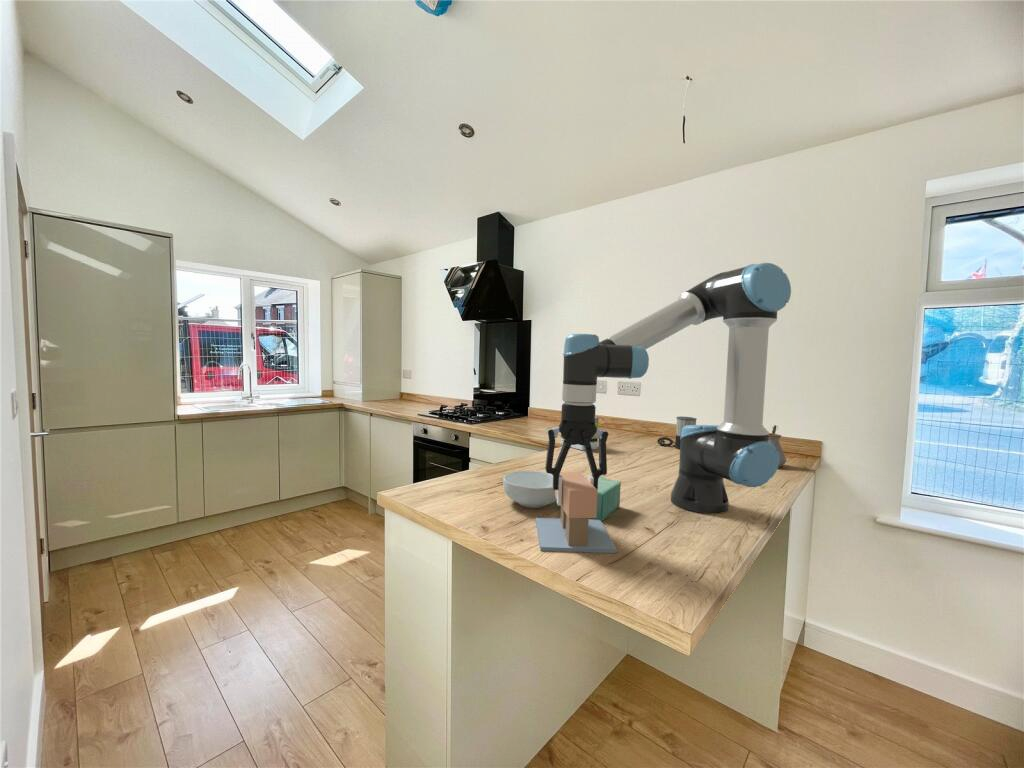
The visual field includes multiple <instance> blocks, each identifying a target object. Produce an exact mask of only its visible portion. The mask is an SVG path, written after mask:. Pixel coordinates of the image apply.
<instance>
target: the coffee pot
mask: <svg viewBox="0 0 1024 768" xmlns="http://www.w3.org/2000/svg"><path fill="white" fill-rule="evenodd" d="M777 428H779V426H778V425H776V424H775V425H773V426H772V431H771V432H769V443H771V444H772V445H773V446H774V447H775V448H776V450H777V451H778V453H779V465H778V468H781V467H782V466H784V465H785V464H786V462H787V459H786V455H785V453H784V451H783V449H782V446H781V443H780V438H781V437H782V435H781V434H778V433H776V432H777ZM778 468H777V469H778Z"/></svg>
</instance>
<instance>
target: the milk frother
mask: <svg viewBox="0 0 1024 768" xmlns="http://www.w3.org/2000/svg"><path fill="white" fill-rule="evenodd" d="M675 418H676V425H675V426H676V427H675V428H676V430H675V440H673V439H671V438H670V437H666V436H662V437H661V436H660V437H659V438H657V444H659V446H664V447H671V446H672V445H673V444H674V448H675V449H678V450H680V441H681V440H680V437H681V433H682V428H683V427H684V426H686V425H697V418H696V417H692V416H691V417H690V416H676V417H675ZM665 440H666V441H668V442H669V443H665V442H666V441H665Z"/></svg>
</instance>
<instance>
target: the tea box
mask: <svg viewBox="0 0 1024 768" xmlns="http://www.w3.org/2000/svg"><path fill="white" fill-rule="evenodd" d="M599 419H600V418H599V416H595V426H596V428H597V429H599ZM598 440H599V439H598V438H597V434H596V433H595V435H594V436H593V437H592V438H591V440H590V444H591V449H592V450H597V449H598ZM563 442H564V437H563V436H562V434H561V433H560V445H561V446H563ZM570 448H573V449H576V450H581V451H585V448H584V446H583V445H579V444H576V445H571V447H570Z"/></svg>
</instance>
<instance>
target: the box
mask: <svg viewBox="0 0 1024 768" xmlns="http://www.w3.org/2000/svg"><path fill="white" fill-rule="evenodd" d="M621 483H622V482H621V481H619V480H614V479H611V478H605V477H601V476H600V477H599V478H598V493H597V516H596V518H591V520H600V521H601V522H603V521H604V520H605V519H606V518H607V517H608V516H609V515H611V514H613V513H614V512H615V510H617V509H618V508H619V507H620V503H621V486H622V484H621Z"/></svg>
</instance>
